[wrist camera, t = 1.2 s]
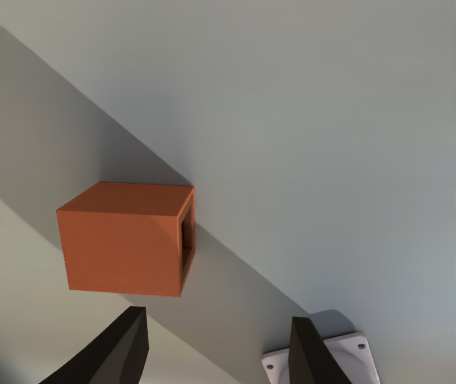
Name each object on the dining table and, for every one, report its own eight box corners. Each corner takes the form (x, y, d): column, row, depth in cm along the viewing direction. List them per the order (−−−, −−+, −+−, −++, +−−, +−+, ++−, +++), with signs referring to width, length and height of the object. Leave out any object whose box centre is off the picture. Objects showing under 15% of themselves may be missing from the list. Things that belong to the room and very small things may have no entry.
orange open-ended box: (106, 248, 24) (69, 290, 19) (98, 182, 22) (55, 210, 17) (195, 252, 23) (179, 297, 19) (194, 185, 22) (176, 216, 17)
